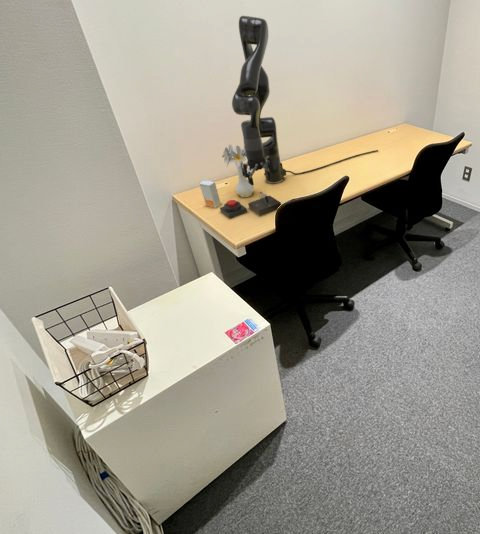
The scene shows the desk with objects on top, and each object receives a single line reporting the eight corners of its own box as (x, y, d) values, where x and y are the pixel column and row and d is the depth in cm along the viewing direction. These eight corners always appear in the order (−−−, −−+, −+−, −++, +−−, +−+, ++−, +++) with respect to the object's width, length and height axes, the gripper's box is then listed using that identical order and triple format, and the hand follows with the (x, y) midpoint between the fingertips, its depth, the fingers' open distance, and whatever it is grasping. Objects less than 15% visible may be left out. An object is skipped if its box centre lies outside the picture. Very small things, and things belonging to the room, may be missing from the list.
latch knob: (269, 204, 157) (267, 195, 154) (266, 205, 156) (264, 196, 153) (262, 200, 160) (261, 191, 157) (260, 201, 159) (258, 192, 156)
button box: (237, 205, 161) (236, 198, 159) (247, 212, 157) (245, 204, 154) (220, 211, 157) (218, 204, 154) (230, 218, 152) (227, 211, 149)
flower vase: (246, 185, 179) (236, 138, 164) (265, 196, 169) (256, 147, 154) (224, 192, 172) (211, 144, 156) (242, 204, 162) (231, 154, 146)
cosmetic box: (205, 206, 161) (198, 183, 153) (211, 202, 164) (204, 179, 156) (215, 208, 159) (209, 185, 152) (221, 204, 162) (215, 181, 155)
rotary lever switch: (270, 200, 166) (269, 195, 164) (281, 207, 160) (280, 202, 158) (249, 208, 159) (248, 202, 157) (260, 216, 154) (259, 210, 152)
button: (234, 202, 157) (233, 198, 156) (238, 205, 154) (238, 202, 153) (225, 205, 154) (224, 201, 153) (230, 208, 152) (229, 205, 151)
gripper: (243, 153, 135) (250, 189, 145) (272, 145, 143) (277, 180, 153) (234, 148, 139) (242, 183, 149) (263, 140, 147) (268, 175, 157)
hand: (260, 182), depth 151 cm, fingers open, 8 cm apart
